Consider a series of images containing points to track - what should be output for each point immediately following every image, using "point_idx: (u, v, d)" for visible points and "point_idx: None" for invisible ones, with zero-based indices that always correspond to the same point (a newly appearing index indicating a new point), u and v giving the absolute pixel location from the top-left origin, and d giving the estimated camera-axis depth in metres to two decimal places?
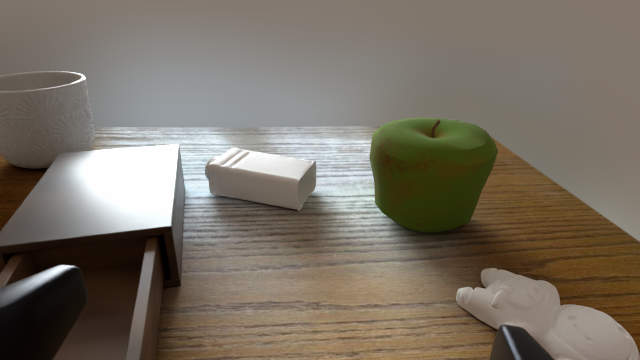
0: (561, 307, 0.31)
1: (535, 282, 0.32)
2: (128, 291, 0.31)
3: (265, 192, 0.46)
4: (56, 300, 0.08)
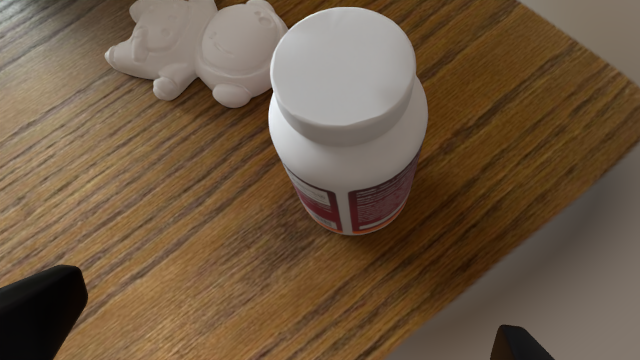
0: (209, 20, 0.26)
1: (171, 5, 0.26)
2: None
3: None
4: (56, 300, 0.08)
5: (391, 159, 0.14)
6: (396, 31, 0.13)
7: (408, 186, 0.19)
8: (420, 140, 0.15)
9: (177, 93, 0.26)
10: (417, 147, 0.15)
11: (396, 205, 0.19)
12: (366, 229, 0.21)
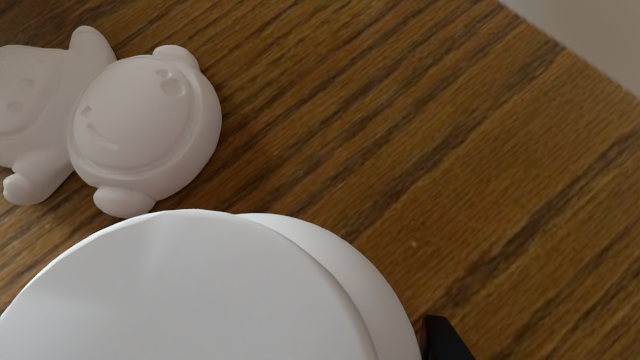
0: (91, 83, 0.17)
1: (28, 61, 0.16)
2: None
3: None
4: None
5: None
6: (331, 312, 0.04)
7: None
8: None
9: (46, 193, 0.17)
10: None
11: None
12: None
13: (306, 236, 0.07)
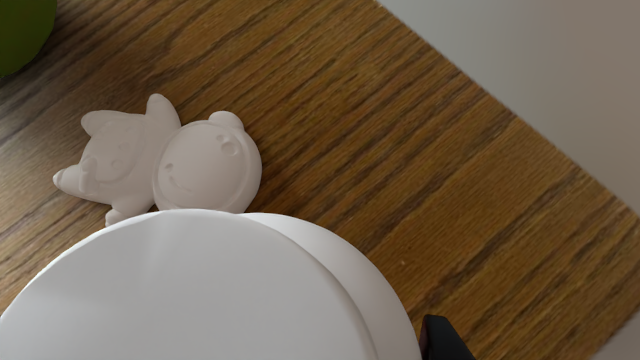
0: (167, 142, 0.23)
1: (123, 128, 0.23)
2: None
3: None
4: None
5: None
6: (331, 312, 0.04)
7: None
8: None
9: None
10: None
11: None
12: None
13: (307, 235, 0.07)
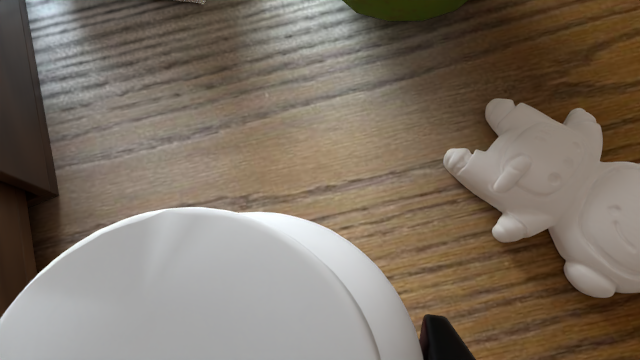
0: (601, 175, 0.20)
1: (570, 142, 0.20)
2: None
3: None
4: None
5: None
6: (333, 310, 0.04)
7: None
8: None
9: None
10: None
11: None
12: None
13: (308, 234, 0.07)
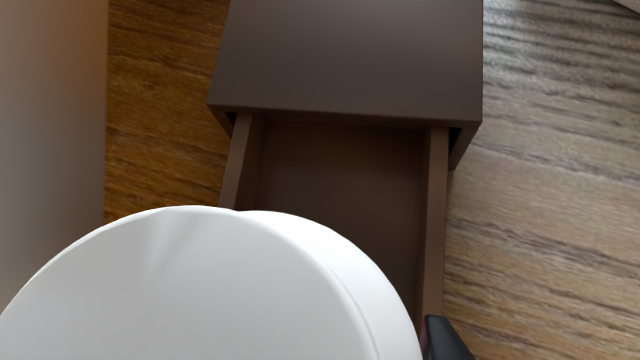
0: None
1: None
2: (389, 191, 0.21)
3: None
4: None
5: None
6: (331, 308, 0.04)
7: None
8: None
9: None
10: None
11: None
12: None
13: (307, 233, 0.07)
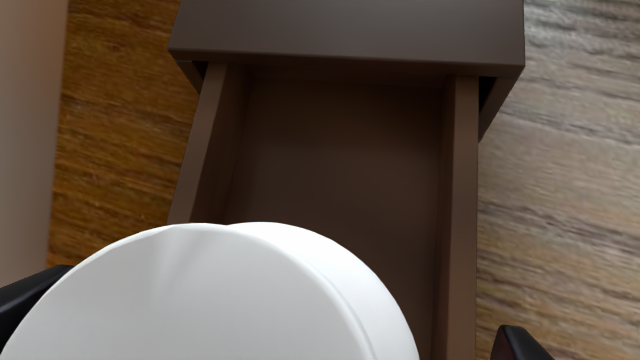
0: None
1: None
2: (401, 161, 0.17)
3: None
4: None
5: None
6: (333, 324, 0.05)
7: None
8: None
9: None
10: None
11: None
12: None
13: (309, 244, 0.07)
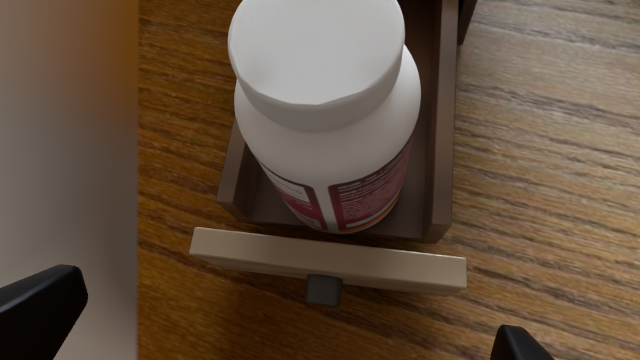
0: None
1: None
2: None
3: None
4: (56, 300, 0.08)
5: (377, 146, 0.12)
6: None
7: (400, 178, 0.16)
8: (412, 124, 0.13)
9: None
10: (408, 132, 0.13)
11: (387, 200, 0.17)
12: (354, 227, 0.18)
13: None
